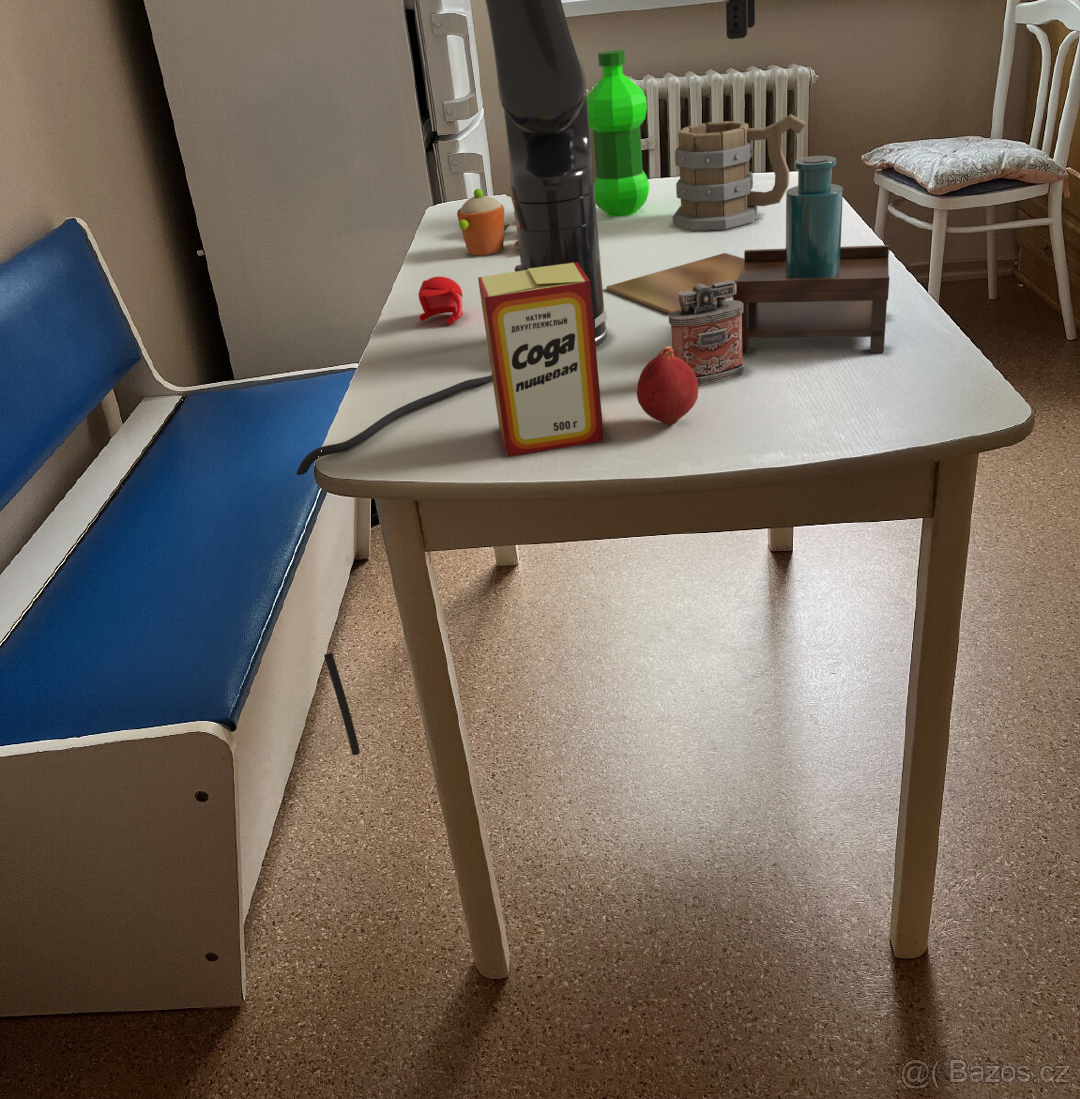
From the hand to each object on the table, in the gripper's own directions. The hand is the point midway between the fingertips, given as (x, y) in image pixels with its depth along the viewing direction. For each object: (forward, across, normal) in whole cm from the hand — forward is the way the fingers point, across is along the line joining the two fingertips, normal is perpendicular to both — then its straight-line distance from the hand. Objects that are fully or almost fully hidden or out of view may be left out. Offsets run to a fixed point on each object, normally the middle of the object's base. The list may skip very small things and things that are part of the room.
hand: (741, 33), depth 117 cm
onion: (+30, +41, -3) cm, 51 cm away
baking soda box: (+30, +44, -14) cm, 55 cm away
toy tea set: (+31, -31, -42) cm, 60 cm away
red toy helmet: (+30, +10, -38) cm, 50 cm away
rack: (+30, +16, +9) cm, 35 cm away
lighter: (+30, +29, -1) cm, 42 cm away
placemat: (+30, -3, -6) cm, 31 cm away
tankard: (+31, -36, -5) cm, 48 cm away
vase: (+23, +16, +9) cm, 30 cm away
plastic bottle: (+31, -44, -25) cm, 59 cm away
